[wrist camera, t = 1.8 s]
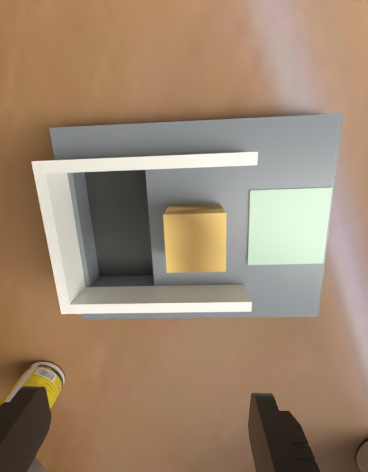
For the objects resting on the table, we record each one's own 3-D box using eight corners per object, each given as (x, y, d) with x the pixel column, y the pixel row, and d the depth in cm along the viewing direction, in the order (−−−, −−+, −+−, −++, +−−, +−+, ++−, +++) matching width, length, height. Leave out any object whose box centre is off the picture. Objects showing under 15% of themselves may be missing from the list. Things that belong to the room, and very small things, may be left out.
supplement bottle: (35, 393, 35) (-23, 477, 25) (22, 362, 33) (-46, 439, 24) (71, 389, 34) (25, 473, 25) (59, 357, 33) (5, 433, 23)
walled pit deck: (325, 119, 24) (371, 102, 18) (305, 302, 29) (336, 338, 23) (65, 132, 25) (23, 120, 19) (92, 304, 30) (66, 340, 24)
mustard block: (220, 204, 24) (226, 212, 19) (220, 253, 25) (225, 271, 21) (168, 206, 24) (162, 214, 19) (171, 254, 25) (166, 272, 21)
